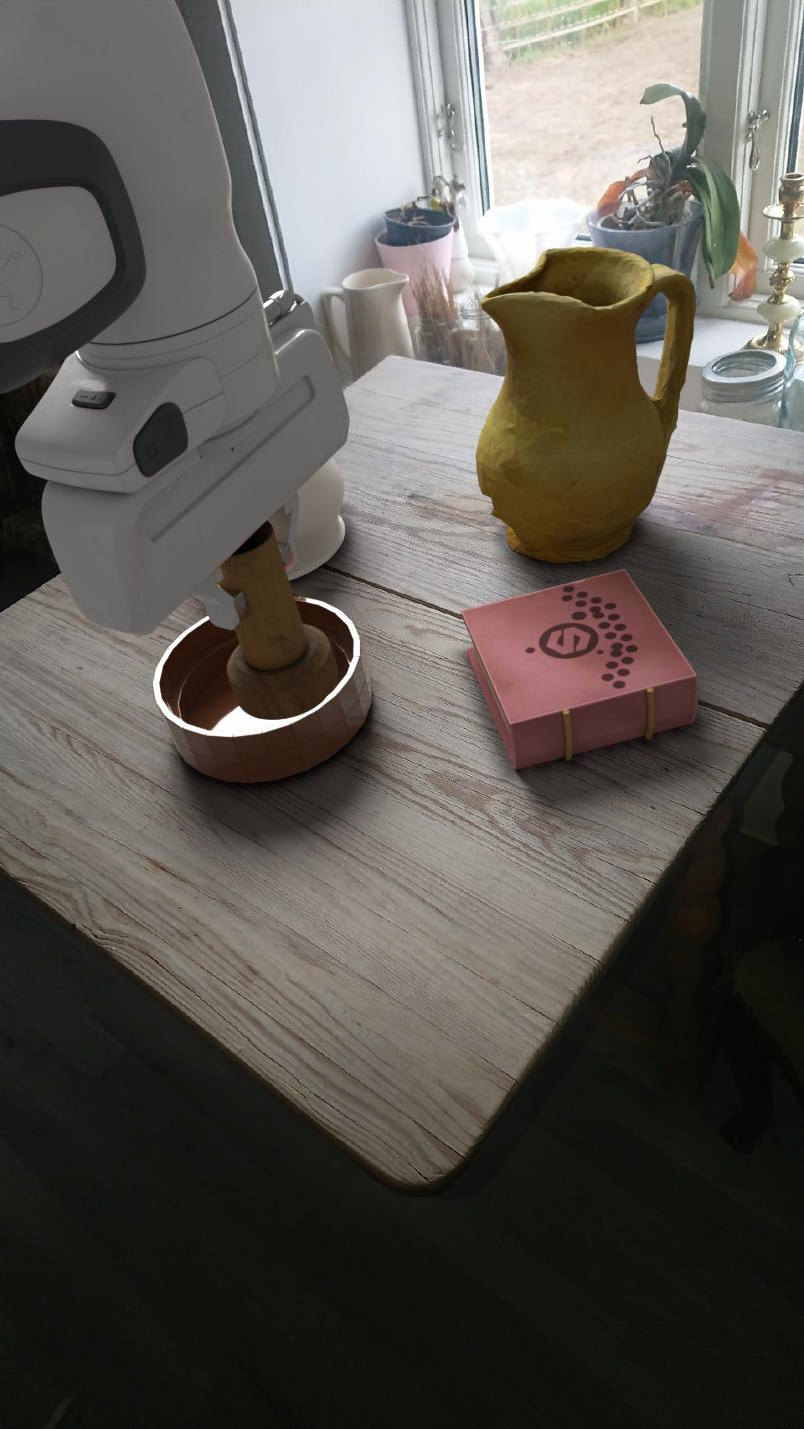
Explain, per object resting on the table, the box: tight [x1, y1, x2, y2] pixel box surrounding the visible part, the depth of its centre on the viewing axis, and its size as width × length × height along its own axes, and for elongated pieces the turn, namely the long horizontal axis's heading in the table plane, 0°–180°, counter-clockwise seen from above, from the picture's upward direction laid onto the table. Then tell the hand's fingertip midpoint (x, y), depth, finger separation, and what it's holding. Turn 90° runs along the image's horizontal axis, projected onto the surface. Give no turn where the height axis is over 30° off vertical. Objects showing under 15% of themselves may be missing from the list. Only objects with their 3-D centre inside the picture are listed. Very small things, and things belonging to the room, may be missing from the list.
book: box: [460, 568, 699, 771], centre depth 78 cm, size 14×15×5 cm
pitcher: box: [474, 246, 697, 564], centre depth 88 cm, size 17×19×25 cm
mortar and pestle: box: [217, 447, 338, 720], centre depth 55 cm, size 7×6×18 cm
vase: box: [286, 456, 346, 581], centre depth 94 cm, size 17×17×25 cm
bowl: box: [152, 595, 372, 784], centre depth 81 cm, size 17×17×6 cm
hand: (257, 593), depth 56 cm, fingers closed on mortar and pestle, 4 cm apart
